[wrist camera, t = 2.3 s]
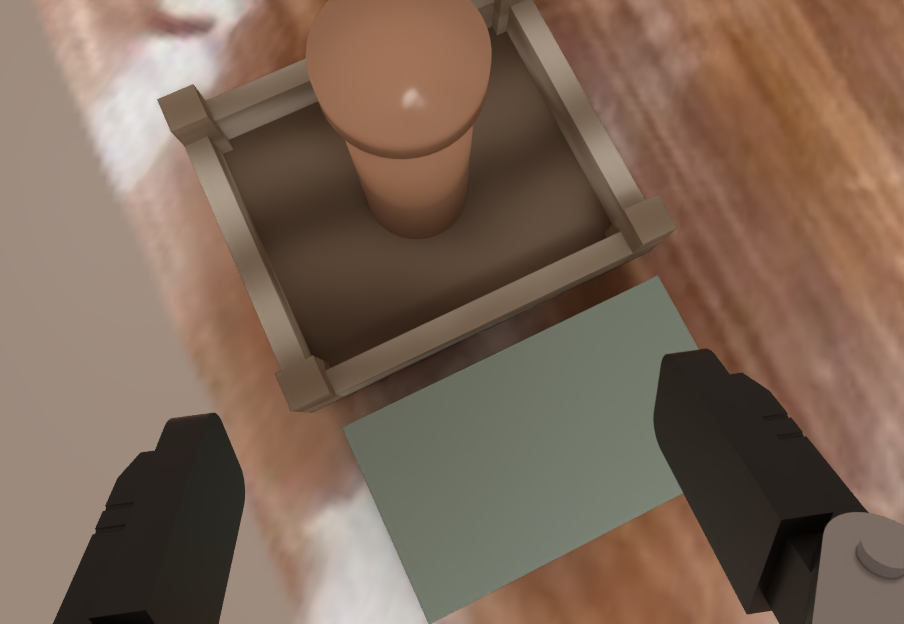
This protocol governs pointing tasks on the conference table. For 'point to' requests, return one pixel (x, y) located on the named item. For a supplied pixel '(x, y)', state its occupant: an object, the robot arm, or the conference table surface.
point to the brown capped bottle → (404, 101)
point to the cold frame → (402, 259)
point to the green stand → (524, 450)
